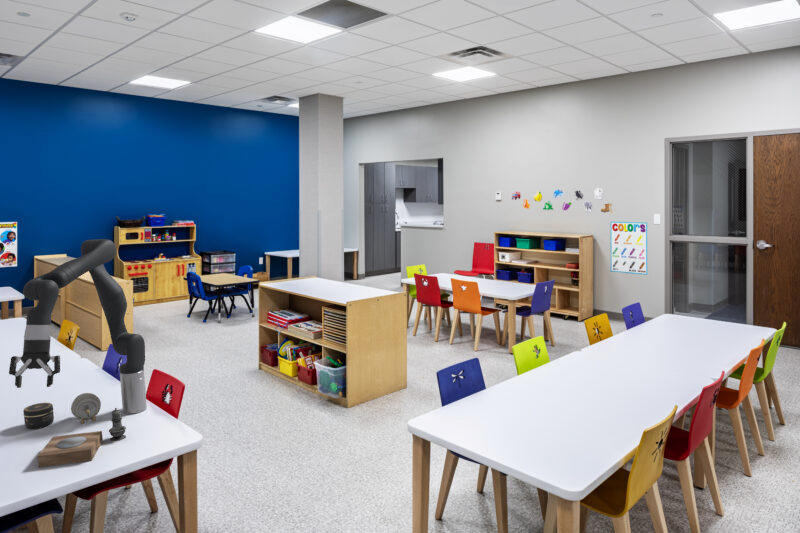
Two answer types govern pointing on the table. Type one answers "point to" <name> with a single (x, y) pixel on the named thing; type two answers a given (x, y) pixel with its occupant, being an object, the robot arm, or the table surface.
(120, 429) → the stone chess piece
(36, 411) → the jar
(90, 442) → the walnut plinth
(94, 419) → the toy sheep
